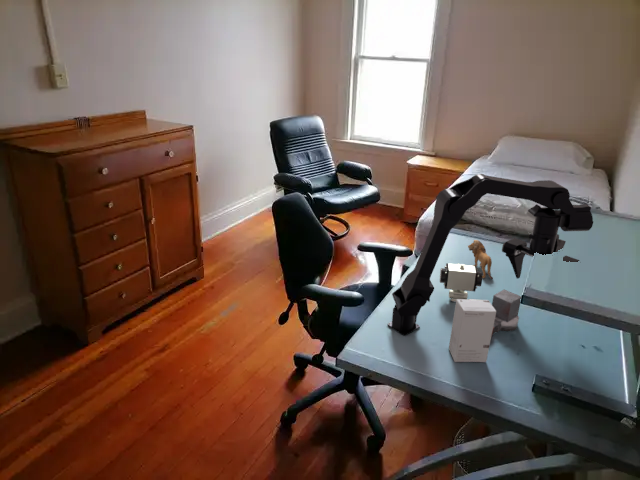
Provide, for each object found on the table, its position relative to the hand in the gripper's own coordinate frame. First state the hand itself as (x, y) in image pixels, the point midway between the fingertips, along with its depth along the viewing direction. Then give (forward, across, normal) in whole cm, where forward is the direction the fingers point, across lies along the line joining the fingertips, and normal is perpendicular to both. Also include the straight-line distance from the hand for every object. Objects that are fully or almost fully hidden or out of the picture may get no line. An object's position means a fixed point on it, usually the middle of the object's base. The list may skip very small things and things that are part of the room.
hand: (533, 284), depth 126 cm
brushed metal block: (+10, +4, +5) cm, 12 cm away
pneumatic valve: (+13, +20, +4) cm, 24 cm away
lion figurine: (+13, +27, -18) cm, 35 cm away
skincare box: (+13, +2, +25) cm, 28 cm away
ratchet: (+12, +4, +11) cm, 17 cm away
